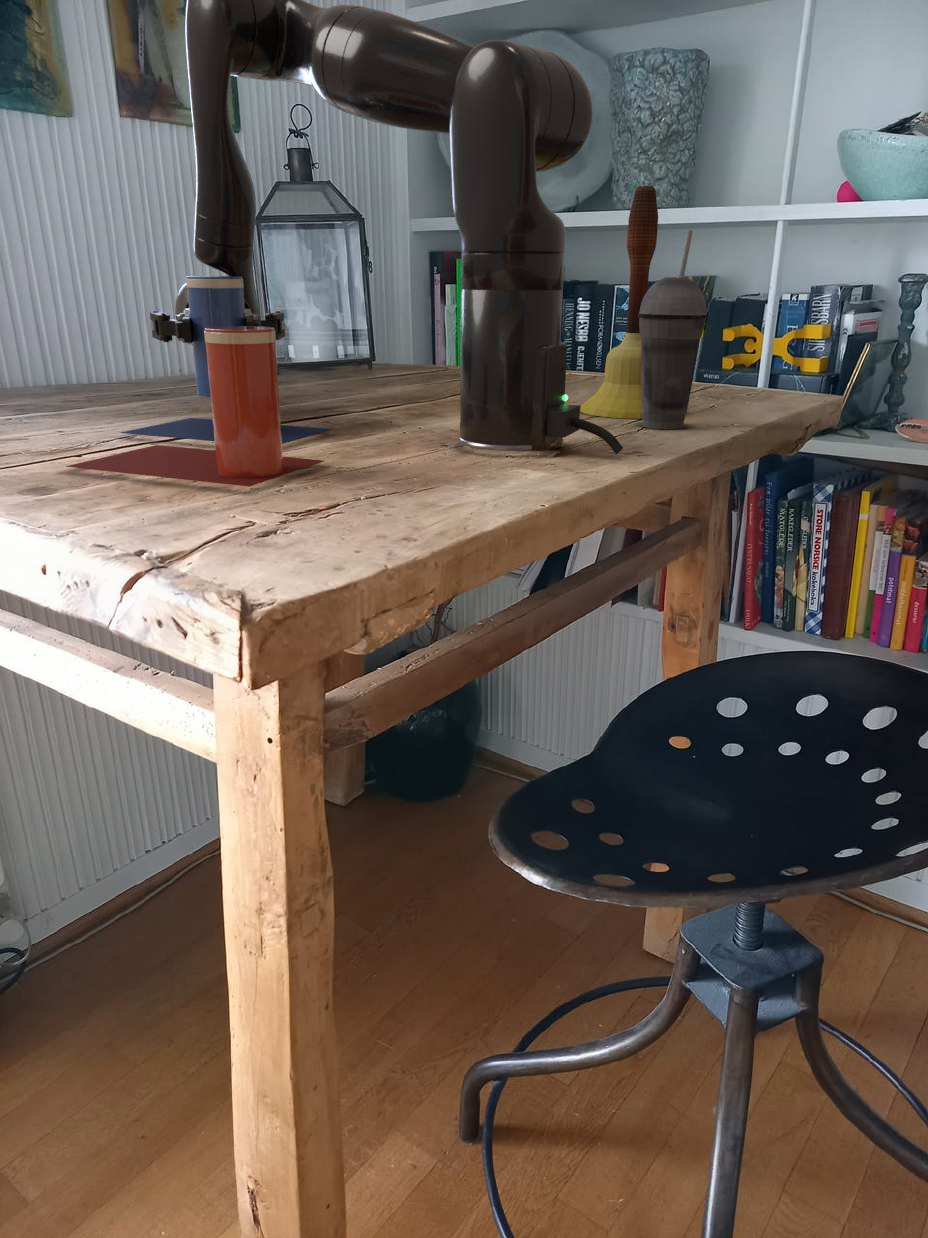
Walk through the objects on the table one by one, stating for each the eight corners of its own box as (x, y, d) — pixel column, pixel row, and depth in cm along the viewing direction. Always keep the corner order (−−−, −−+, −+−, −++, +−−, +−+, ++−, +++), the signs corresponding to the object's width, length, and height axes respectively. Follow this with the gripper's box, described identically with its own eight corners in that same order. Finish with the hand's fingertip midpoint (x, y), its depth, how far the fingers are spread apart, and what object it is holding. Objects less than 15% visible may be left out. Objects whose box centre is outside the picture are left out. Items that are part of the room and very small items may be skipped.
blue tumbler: (261, 392, 91) (253, 276, 87) (230, 398, 87) (220, 276, 83) (218, 389, 93) (209, 275, 89) (185, 395, 89) (173, 275, 85)
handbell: (676, 420, 104) (698, 180, 95) (570, 415, 107) (582, 182, 98) (684, 407, 115) (704, 190, 106) (588, 402, 118) (599, 192, 109)
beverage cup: (646, 419, 105) (661, 231, 98) (706, 425, 101) (726, 230, 94) (618, 426, 99) (631, 229, 92) (680, 433, 95) (699, 227, 88)
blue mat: (333, 434, 93) (333, 428, 93) (272, 452, 84) (272, 445, 83) (191, 423, 99) (191, 417, 99) (120, 438, 90) (119, 432, 90)
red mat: (325, 467, 77) (325, 460, 77) (249, 493, 68) (249, 485, 68) (157, 451, 84) (156, 444, 83) (66, 473, 74) (65, 465, 74)
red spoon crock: (297, 468, 74) (288, 327, 70) (259, 480, 69) (248, 330, 65) (243, 462, 76) (232, 325, 72) (203, 474, 71) (188, 328, 67)
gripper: (147, 284, 98) (134, 288, 82) (281, 285, 101) (293, 289, 86) (155, 356, 100) (144, 372, 85) (285, 354, 104) (297, 370, 89)
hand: (219, 330), depth 86 cm, fingers closed on blue tumbler, 5 cm apart
